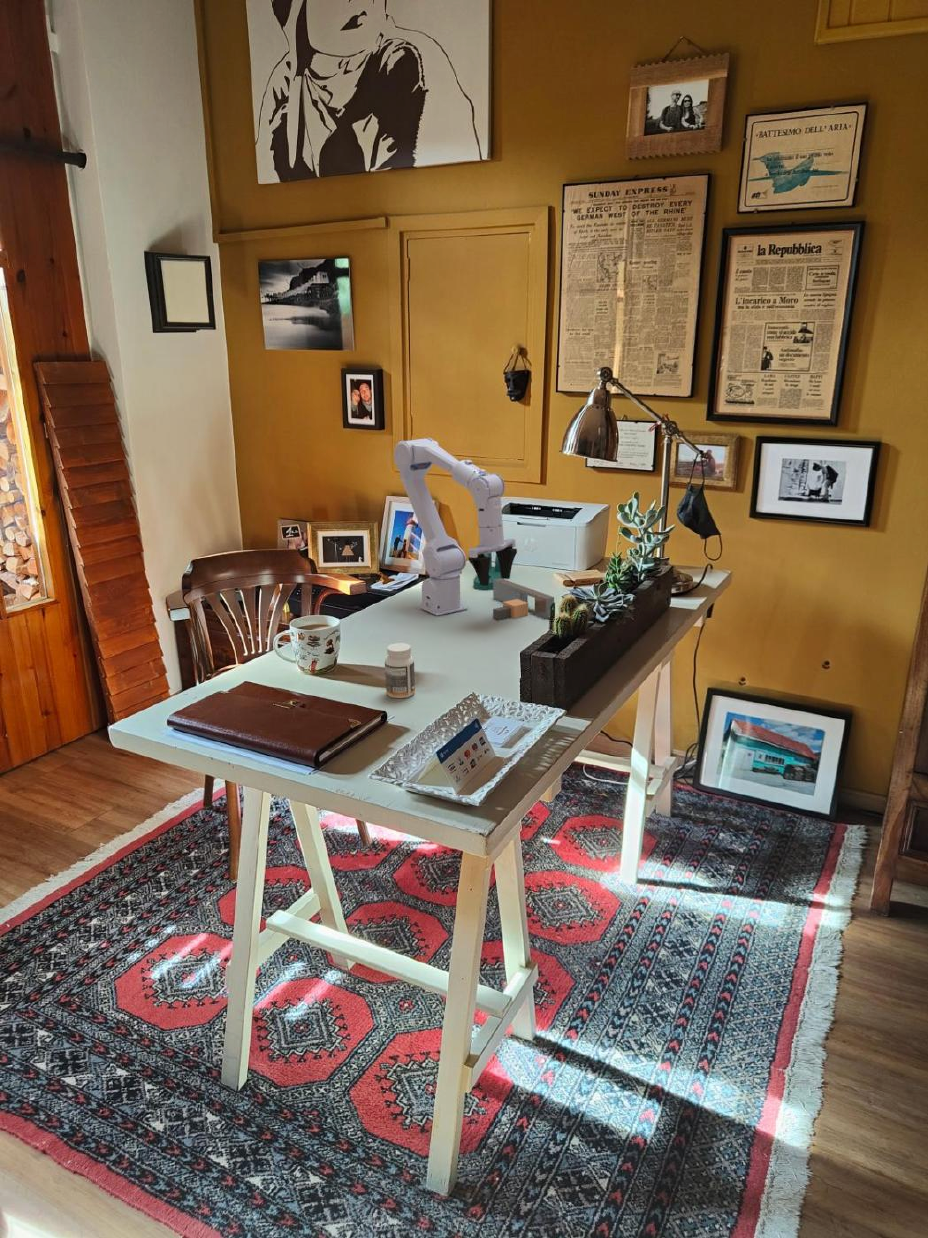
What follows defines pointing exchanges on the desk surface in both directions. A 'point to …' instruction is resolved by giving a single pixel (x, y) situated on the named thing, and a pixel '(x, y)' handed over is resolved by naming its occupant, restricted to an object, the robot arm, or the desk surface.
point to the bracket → (493, 574)
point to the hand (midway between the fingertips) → (495, 581)
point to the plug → (511, 609)
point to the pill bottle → (399, 671)
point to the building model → (522, 596)
